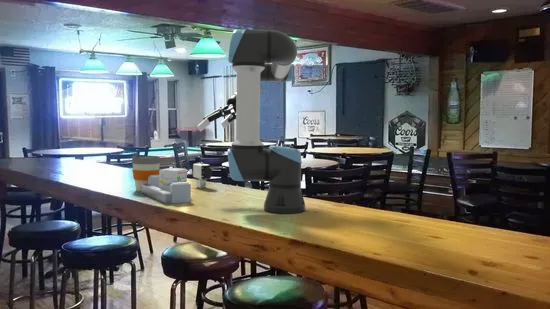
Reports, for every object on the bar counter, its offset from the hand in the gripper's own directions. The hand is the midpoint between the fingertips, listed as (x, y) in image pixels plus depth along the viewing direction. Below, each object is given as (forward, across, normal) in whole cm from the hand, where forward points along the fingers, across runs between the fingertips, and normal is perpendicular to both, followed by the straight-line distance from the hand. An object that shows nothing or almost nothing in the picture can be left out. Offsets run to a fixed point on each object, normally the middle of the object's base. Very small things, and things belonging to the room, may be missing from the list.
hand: (210, 127), depth 206 cm
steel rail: (+26, +21, -16) cm, 37 cm away
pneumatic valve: (-5, +29, -33) cm, 44 cm away
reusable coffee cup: (+15, +41, -20) cm, 48 cm away
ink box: (+20, +19, -20) cm, 34 cm away
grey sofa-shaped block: (+21, +19, -19) cm, 34 cm away
